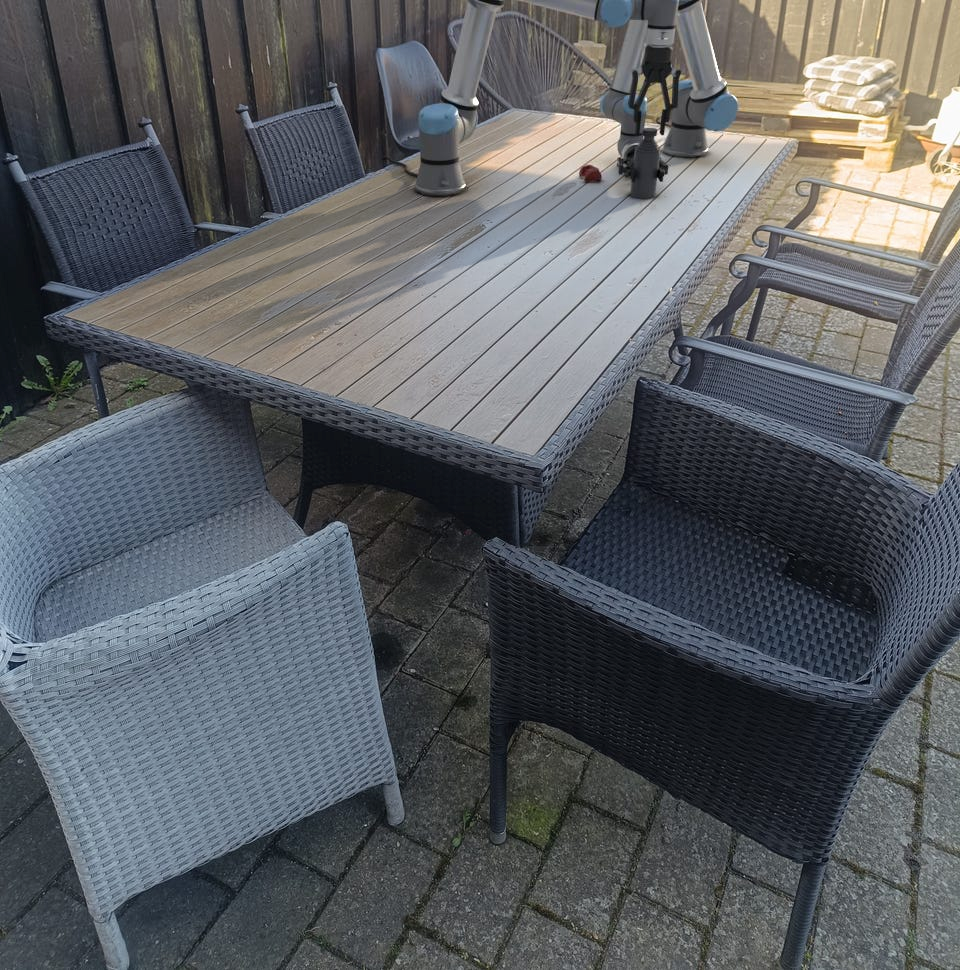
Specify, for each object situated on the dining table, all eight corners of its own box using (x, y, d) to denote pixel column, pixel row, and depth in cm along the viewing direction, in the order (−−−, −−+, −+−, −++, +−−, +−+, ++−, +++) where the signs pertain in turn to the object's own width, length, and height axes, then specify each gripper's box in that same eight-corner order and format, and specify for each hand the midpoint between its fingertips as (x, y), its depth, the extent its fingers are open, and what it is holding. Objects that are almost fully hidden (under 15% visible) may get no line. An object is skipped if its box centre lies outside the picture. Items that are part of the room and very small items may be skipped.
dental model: (594, 161, 269) (603, 168, 262) (593, 174, 271) (602, 181, 265) (577, 162, 268) (586, 169, 261) (577, 176, 270) (586, 183, 264)
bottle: (634, 190, 258) (640, 127, 248) (658, 193, 256) (665, 129, 245) (627, 196, 253) (633, 132, 242) (651, 200, 250) (658, 135, 240)
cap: (639, 135, 244) (640, 130, 243) (645, 132, 246) (645, 127, 246) (653, 137, 242) (654, 131, 241) (658, 134, 245) (659, 128, 244)
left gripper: (626, 47, 227) (618, 137, 241) (697, 47, 228) (685, 137, 241) (621, 43, 233) (614, 131, 247) (691, 43, 234) (679, 130, 247)
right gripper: (666, 168, 267) (680, 190, 249) (602, 168, 267) (612, 190, 248) (669, 143, 263) (684, 163, 244) (604, 144, 263) (614, 164, 244)
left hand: (649, 134), depth 244 cm, fingers open, 6 cm apart
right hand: (648, 177), depth 246 cm, fingers closed on bottle, 7 cm apart
